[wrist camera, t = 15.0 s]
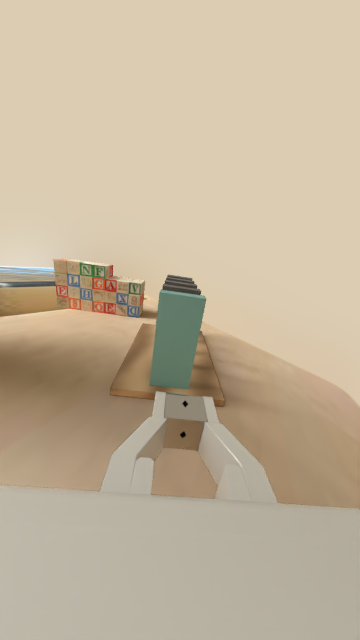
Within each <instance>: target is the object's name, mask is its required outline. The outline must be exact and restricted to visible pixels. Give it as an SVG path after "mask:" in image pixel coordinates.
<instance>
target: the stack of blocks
mask: <svg viewBox="0 0 360 640" xmlns="http://www.w3.org/2000/svg"><path fill="white" fill-rule="evenodd" d="M54 270H55V272H54V274H55V283H56V292H57V304H58V307H63V308H69V309H77V310H84V311H91V312H100V313H108V314H116V315H124V316H131V317H139V316H140V314H141V313H142V311H143V299H144V286H145V281H143V280H136V279H130V278H123V277H114V276H113V265H109V264H102V263H96V262H87V261H81V260H74V259H54Z"/></svg>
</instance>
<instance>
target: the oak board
mask: <svg viewBox="0 0 360 640" xmlns="http://www.w3.org/2000/svg"><path fill="white" fill-rule="evenodd" d="M155 330H156V325H151V324H144V323H143V324H142V326H141V328H140V330H139V332H138V334H137V336H136V338H135V340H134V342H133V344H132V346H131V348H130V350H129V352H128V354H127V356H126V358H125V360H124V362H123V364H122V366H121V368H120V370H119V372H118V374H117V376H116V378H115V380H114V382H113V384H112V386H111V388H110V395H117V396H126V397H136V398H146V399H155V394H156V391H158V392H165V393H166V392H168V393H175V394H183V395H193V396H205V397H212V398H213V401H214V405H215V406H223V404H224V401H225V400H224V397H223V394H222V391H221V388H220V385H219V382H218V379H217V376H216V373H215V370H214V367H213V364H212V361H211V358H210V355H209V352H208V349H207V346H206V343H205V340H204V337H203V334H202V331H200V333H199V338H198V343H197V348H196V353H195V358H194V363H193V368H192V373H191V378H190V383H189V388H188V389H179V388H170V387H160V386H151V385H149V384H150V375H151V366H152V357H153V348H154V339H155Z"/></svg>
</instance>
